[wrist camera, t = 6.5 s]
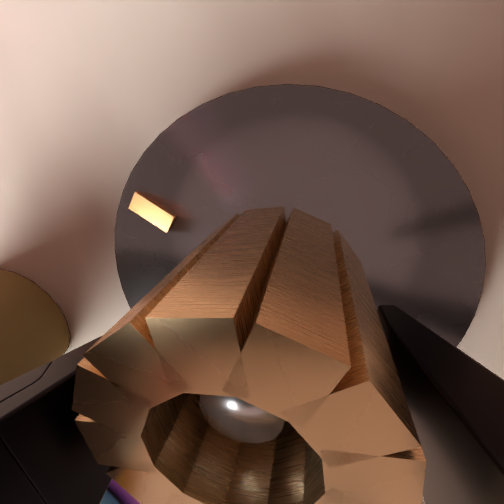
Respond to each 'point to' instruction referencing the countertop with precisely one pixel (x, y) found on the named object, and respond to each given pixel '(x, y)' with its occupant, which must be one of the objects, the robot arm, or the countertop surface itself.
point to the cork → (28, 327)
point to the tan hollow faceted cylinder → (254, 376)
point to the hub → (307, 206)
